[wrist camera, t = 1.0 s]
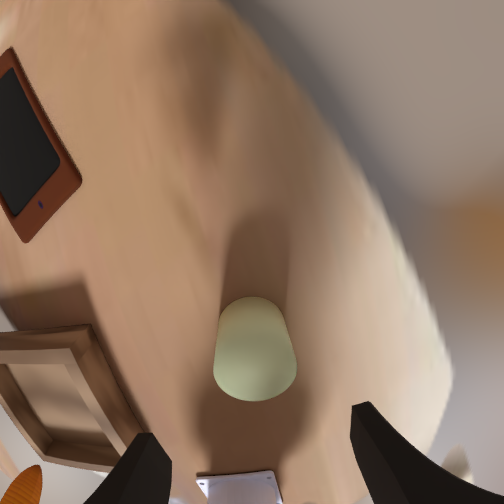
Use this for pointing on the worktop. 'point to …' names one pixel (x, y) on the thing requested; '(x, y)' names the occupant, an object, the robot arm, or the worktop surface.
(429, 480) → the robot arm
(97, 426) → the walnut tray
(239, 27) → the worktop surface
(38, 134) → the smartphone
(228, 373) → the green cylinder
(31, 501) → the carrot
